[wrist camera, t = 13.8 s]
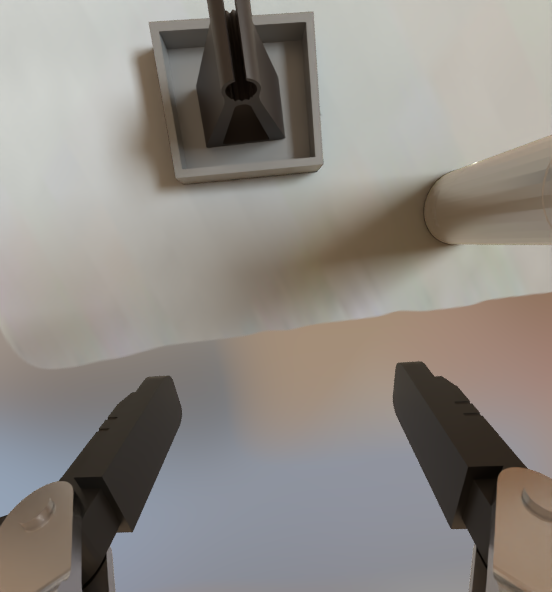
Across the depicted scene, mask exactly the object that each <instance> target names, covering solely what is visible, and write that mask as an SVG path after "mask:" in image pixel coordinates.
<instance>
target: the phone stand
mask: <svg viewBox="0 0 552 592" xmlns="http://www.w3.org/2000/svg"><path fill="white" fill-rule="evenodd" d="M207 4H208V11H209V17H210V25H209V29H208V34H207V38H206V43H205V47H204V52H203V56H202V61H201V66H200V70H199V75H198V79H197V84H196V90H197V95H198V101H199V107H200V113H201V119H202V124H203V130H204V136H205V142H206V147H207V148H212V147H221V146H229V145H238V144H245V143H255V142H263V141H272V140H280V139H284V138H285V130H284V122H283V113H282V104H281V95H280V87H279V78H278V75H277V73H276V71H275V69H274V67H273V65H272V62H271V60H270V58H269V56H268V54H267V52H266V50H265V47H264V45H263V43H262V41H261V39H260V37H259V34H258V32H257V30H256V28H255V26H254V24H253V21H252V13H251V5H250V0H235V7H236V11H235V10H232V11H231V13H229V12H228V11H225V9H224V2H223V0H207Z"/></svg>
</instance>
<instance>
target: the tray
mask: <svg viewBox="0 0 552 592" xmlns="http://www.w3.org/2000/svg"><path fill="white" fill-rule="evenodd" d="M252 21H253V24H254V26H255V28H256V30H257V32H258V34H259V37H260V39H261V41H262V43H263V45H264V47H265V50H266V52H267V54H268V56H269V58H270V60H271V62H272V65H273V67H274V69H275V71H276V73H277V75H278V78H279V87H280V95H281V104H282V113H283V122H284V130H285V138H284V139H280V140H272V141H263V142H255V143H245V144H238V145H229V146H221V147H212V148H207V147H206V142H205V136H204V130H203V124H202V119H201V113H200V107H199V101H198V95H197V90H196V84H197V79H198V75H199V70H200V66H201V61H202V56H203V52H204V47H205V43H206V38H207V34H208V29H209V25H210V18H205V19H189V20H173V21H157V22H149V27H150V33H151V38H152V44H153V50H154V56H155V61H156V67H157V73H158V79H159V85H160V90H161V96H162V102H163V108H164V113H165V119H166V125H167V131H168V136H169V142H170V148H171V154H172V159H173V165H174V171H175V177H176V179H177V180H179V181H180V182H181V183H182V184H192V183H203V182H213V181H224V180H234V179H244V178H255V177H265V176H276V175H286V174H297V173H307V172H317V171H318V170H319V169H320V167H321V166H322V165H323V152H322V137H321V121H320V106H319V90H318V75H317V59H316V44H315V28H314V13H313V12H300V13H284V14H268V15H252Z"/></svg>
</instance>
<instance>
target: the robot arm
mask: <svg viewBox="0 0 552 592" xmlns="http://www.w3.org/2000/svg"><path fill="white" fill-rule="evenodd" d="M424 216H425V222H426V225H427V227H428V229H429V231H430V233H431V234H432V235H433V236H434V237H435V238H436V239H438V240H439V241H441V242H444V243H447V244H476V245H552V135H550V136H547V137H544V138H542V139H539V140H536V141H533V142H531V143H528V144H525V145H523V146H520V147H517V148H514V149H512V150H509V151H506V152H504V153H501V154H498V155H495V156H493V157H490V158H487V159H484V160H482V161H479V162H476V163H473V164H471V165H468V166H465V167H462V168H460V169H457V170H454V171H452V172H449V173H447V174H446V175H444V176H442V177H441V178H440V179H439V180H438V181H437V182H436V183H435V184H434V185H433V187H432V188H431V190H430V191H429V193H428V195H427V198H426V202H425V208H424ZM393 404H394V409H395V413H396V416H397V417H398V420H399V422H400V424H401V426H402V428H403V430H404V432H405V434H406V437H407V439H408V440H409V443H410V445H411V447H412V449H413V451H414V453H415V455H416V457H417V459H418V461H419V464H420V466H421V467H422V470H423V472H424V474H425V476H426V478H427V480H428V482H429V484H430V486H431V488H432V491H433V493H434V495H435V497H436V499H437V501H438V503H439V505H440V507H441V509H442V511H443V513H444V516H445V518H446V520H447V522H448V524H449V526H450V528H451V529H468V531H469V533H470V535H471V537H472V539H473V541H474V543H475V544H474V548H473V556H472V565H471V575H470V584H469V592H552V479H551V478H549V477H547V476H545V475H543V474H541V473H539V472H536V471H533V470H530V469H528V468H527V467H526V466H525V465H524V464H523V463H522V462H521V460H520V459H519V458H518V457H517V456H516V455H515V454H514V452H513V451H512V450H511V449H510V448H509V446H508V445H507V444H506V443H505V442H504V440H502V438H501V437H500V436H499V435H498V433H497V432H496V431H495V430H494V429H493V428H492V427H491V425H490V424H489V423H488V422H487V421H486V419H484V417H483V416H481V415H480V413H479V411H478V410H477V409H476V408H475V407H474V405H473V404H470V401H469V400H468V398H467V397H466V396H465V395H464V394H463V393H462V391H461V390H460V389H459V388H458V387H457V386H455V385H454V384H452V383H451V382H449V381H448V380H447V379H445V378H443V377H442V376H438V377H434V375H433V374H432V373H431V372H430V370H429V369H428V368H427V367H426V365H425V364H424V363H423V362H403V363H397V365H396V370H395V380H394V391H393ZM181 418H182V408H181V404H180V401H179V398H178V395H177V392H176V389H175V386H174V382H173V380H172V378H171V377H170V376H155V377H147V378H146V379H145V380H144V381H143V383H142V384H141V385H140V387H139V388H138V390H137V391H136V392H133V393H131V394H130V395H128V396H127V397H126V398H125V399H124V400H122V401H121V402H120V403H119V404H118V405H117V406H116V407H115V409H114V410H113V412H111V414H110V415H109V417H108V420H105V422H104V423H103V424H102V426H101V427H100V428H99V431H98V432H96V433H95V435H94V436H93V437H92V439H91V440H90V441H89V443H88V444H87V445H86V446H85V448H84V449H83V451H82V452H81V453H80V454H79V456H78V457H77V458H76V460H75V461H74V462H73V463H72V465H71V466H70V467H69V469H68V470H67V471H66V473H65V474H64V475H63V477H62V478H61V479H60V480H59V481H57V482H53V483H50V484H48V485H45V486H43V487H41V488H39V489H38V490H36V491H34V492H33V493H32V494H30V495H28V496H27V497H26V498H25V499H23V500H22V501H21V502H20V503H19V504H18V505H17V506H16V507H15V508H14V509H13V510H12V511H11V512H10V513H9V514H8V515H6V516H3V517H0V592H115V582H114V569H113V557H112V550H111V547H110V544H111V542H112V540H113V538H114V536H115V534H116V533H117V532H133V530H134V528H135V526H136V523H137V521H138V519H139V517H140V514H141V512H142V510H143V508H144V505H145V503H146V501H147V499H148V496H149V494H150V492H151V489H152V487H153V485H154V482H155V480H156V478H157V476H158V474H159V471H160V469H161V467H162V464H163V462H164V460H165V458H166V455H167V453H168V451H169V449H170V446H171V444H172V442H173V439H174V437H175V435H176V433H177V430H178V428H179V426H180V423H181Z"/></svg>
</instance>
